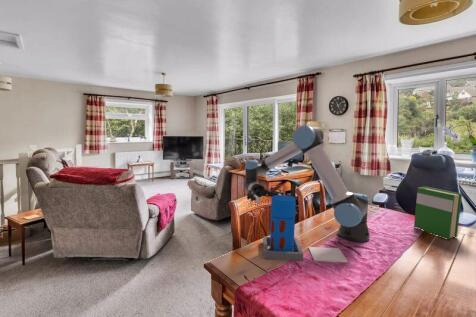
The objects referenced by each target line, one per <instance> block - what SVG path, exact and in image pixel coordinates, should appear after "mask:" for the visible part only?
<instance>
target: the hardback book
mask: <svg viewBox="0 0 476 317" xmlns="http://www.w3.org/2000/svg"><path fill="white" fill-rule="evenodd" d="M416 193H417V194H416V204H415V214H414V222H413V223H414V224H413V228H414V227H418V228H420V229H423V230H424V231H426V232H429V233H432V234H435V235H438V236H441V237H444V238H447V239H451V238H453V237H454V236H455V237H457V238H458V232H459V231H458V230H459V223H460V222H459V221H460V214H461V207H462V206H461V205H462V204H461V203H462V196H463V194H462V193H461V192H460V193H459V192H454V191H450V190H445V189H440V188H434V187H430V186H421V187H417V192H416ZM426 232H425V233H426ZM429 233H428V234H429ZM432 234H431V235H432ZM435 235H434V236H435ZM438 236H437V237H438ZM441 237H440V238H441ZM444 238H443V239H444Z"/></svg>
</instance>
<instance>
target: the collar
mask: <svg viewBox="0 0 476 317" xmlns="http://www.w3.org/2000/svg"><path fill="white" fill-rule="evenodd" d="M262 238H263V239H262V246H263V259H264V260H282V261H284V260H285V261H299V260H301V262H303V261H304V252H303V250H302V246H301V244H300V242H299V240H298V237H294V248H295V251H293V252H284V251H270V250H268V245H270V236H263V237H262Z"/></svg>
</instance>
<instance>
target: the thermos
mask: <svg viewBox="0 0 476 317" xmlns="http://www.w3.org/2000/svg"><path fill="white" fill-rule="evenodd" d="M296 204H297V203H296V197H294V196H293V195H288V194H287V195H286V194H284V195H275V196H272V197H271V202H270V227H269V228H270V231H269V232H270V233H269V237H270V244H269V251H284V252H294V248H295V246H294V238H295V227H296V226H295V225H296Z"/></svg>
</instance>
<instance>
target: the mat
mask: <svg viewBox="0 0 476 317" xmlns="http://www.w3.org/2000/svg"><path fill="white" fill-rule="evenodd" d="M308 250H309V252H310V255H311V257H312V259H313V261H314V262H329V263H344V264H345V263H349V260H348V259H347V258H346V256H345V255H344V253H343V252H342V251H341V249H340V248H337V247H321V246H319V247H318V246H316V247H315V246H308Z"/></svg>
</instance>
